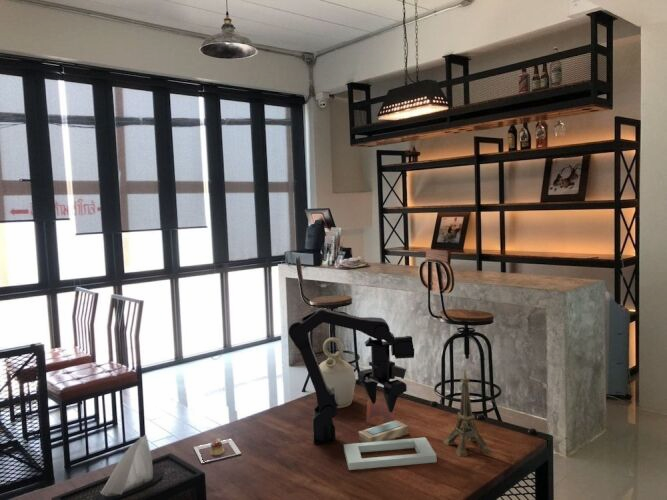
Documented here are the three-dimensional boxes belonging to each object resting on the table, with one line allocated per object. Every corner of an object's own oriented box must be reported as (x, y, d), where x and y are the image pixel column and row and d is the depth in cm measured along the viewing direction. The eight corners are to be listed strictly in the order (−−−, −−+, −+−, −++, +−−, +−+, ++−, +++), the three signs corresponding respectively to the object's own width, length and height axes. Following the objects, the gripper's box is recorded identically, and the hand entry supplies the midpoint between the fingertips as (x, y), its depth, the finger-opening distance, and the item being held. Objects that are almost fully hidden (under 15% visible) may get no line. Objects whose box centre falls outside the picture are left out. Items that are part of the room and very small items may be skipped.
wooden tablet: (396, 427, 179) (396, 422, 178) (366, 427, 179) (366, 423, 179) (393, 398, 205) (393, 394, 205) (367, 399, 206) (366, 394, 206)
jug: (342, 413, 191) (339, 344, 189) (307, 406, 200) (303, 340, 198) (364, 399, 204) (361, 334, 202) (329, 393, 212) (326, 330, 210)
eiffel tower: (442, 442, 165) (440, 362, 163) (473, 436, 168) (471, 358, 166) (459, 457, 155) (456, 372, 153) (492, 451, 157) (490, 367, 155)
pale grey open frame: (348, 470, 150) (348, 463, 150) (344, 450, 162) (343, 444, 162) (436, 462, 152) (436, 455, 152) (425, 443, 164) (425, 437, 164)
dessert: (201, 466, 157) (200, 450, 157) (193, 450, 168) (192, 435, 168) (241, 456, 162) (240, 441, 162) (231, 441, 173) (230, 427, 173)
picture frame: (370, 447, 164) (369, 437, 164) (358, 441, 169) (358, 431, 169) (408, 435, 172) (408, 425, 172) (396, 428, 177) (396, 419, 177)
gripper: (420, 361, 165) (421, 411, 166) (384, 348, 181) (385, 394, 182) (390, 368, 159) (392, 419, 160) (356, 354, 175) (357, 401, 176)
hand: (382, 407), depth 170 cm, fingers open, 9 cm apart
